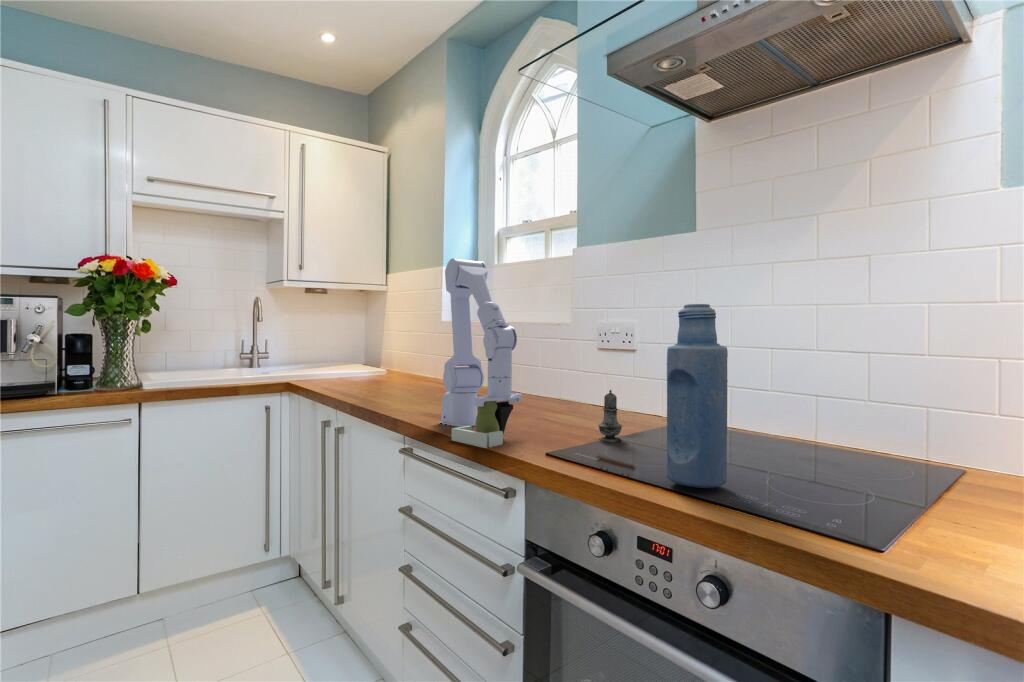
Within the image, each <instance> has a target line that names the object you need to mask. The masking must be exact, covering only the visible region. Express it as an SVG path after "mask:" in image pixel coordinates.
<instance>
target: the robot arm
mask: <svg viewBox="0 0 1024 682" xmlns="http://www.w3.org/2000/svg"><path fill="white" fill-rule="evenodd" d="M488 272H489V271H488V267H487V265H486V263H485V262H484V261H482V260H479V261H478V260H476V261H475V260H469V259H457V258H455V257H454V258H450V259H449V260H448V262H447V263H446V267H445V269H444V277H445V289H446V292H448V293H449V294H450V312H451V327H452V328H451V329H452V345H453V346H452V347H453V355H452V356H451V357H450V358H449V359H448V360H447V361H446V362H445V363H444V365H443V366H444V369H443V370H444V371H443V375H442V378H443V379H442V381H443V382H442V383H443V385H444V387H445V389H446V390H447V391H446V392H445V393H444V395H443V396H442V398H441V421H439V422H438V423H439V424H440V423H442V424H441V425H445V424H447V425H446V426H450V425H451V427H455V428H457V427H464V426H472V427H474V426H475V422H476V417H477V414H478V410H477V407H478V406H479V407H483V406H484V402H486V401H496V404H497V409H496V411H495V417H496V419H497V421H498V424H499V431H503V435H505V430H506V426H507V422H508V420H509V417H510V415H511V413H512V411H513V409H514V404H512V403H521V402H523V393H517V392H516V393H512V383H513V380H512V369H513V368H512V366H513V365H512V364H513V363H512V361H513V350H515V348H516V346H517V343H518V336H517V332H516V329H515V328H514V326H511V325H510V324H509V323H507V322H506V320H505V318H504V315H503V313H502V309H501V308H500V306H499V304H498V303H496V302H493V299H492V297H491V293H490V290H489V287H488V284H487V279H488ZM471 295H472V296H473V298H474V300H475V302H476V304H477V306H478V308H477V311H476V313H477V314H476V315H477V318H478V319H479V322H480V325H481V327H482V330H483V332H484V333H483V334H484V335H483V338H482V339H483V340H482V343H483V347H484V351H485V358H487V395H484V396H478V392H480V389H481V388H482V387H483V385H484V383H485V374H484V371H483V367H482V362H481V360H480V359H479V358H478V357H476V356H475V355H474V354H473V339H472V337H473V336H472V324H471V323H472V322H471V306H470V297H471ZM475 427H476V426H475Z"/></svg>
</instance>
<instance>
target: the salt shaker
mask: <svg viewBox="0 0 1024 682" xmlns="http://www.w3.org/2000/svg"><path fill="white" fill-rule="evenodd" d="M603 397H604V399H603V400H604V401H603V404H604V407H602V410H603V419H602V422H601V423H598V424H597V426H598V430H599V433H600V434H601V435H603V436H601V437H600V438H598V440H599V441H601V442H605V443H618V442H621V441H622V439H621V438H620V437H619V434H620V433H621V431H622V428H623V424H621V423H619V422H618V421H619V420H618V411H619V408H618V407H617V401H618V399H617V397H618V396H617V395H616V394H614V393H613V392H612V389H610V390H609V391H608V393H606V394H605V395H604V396H603ZM617 436H618V437H617Z"/></svg>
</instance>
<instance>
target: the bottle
mask: <svg viewBox="0 0 1024 682" xmlns="http://www.w3.org/2000/svg"><path fill="white" fill-rule="evenodd" d="M677 317H678V324H679V325H678V330H677V331H678V332H677V341H676V343H675V344H674V345H670V346H668V347H667V351H666V478H667V479H668V480H669V481H671V482H672V483H674V484H677V485H681V486H685V487H693V488H700V489H701V488H702V489H703V488H704V489H708V488H718V487H722V486H724V485H725V484H727V478H728V476H727V473H728V471H727V467H728V466H727V465H728V463H727V462H728V460H727V454H728V453H727V448H728V447H727V446H728V442H727V441H728V440H727V439H728V438H727V437H728V358H729V357H728V356H729V355H728V354H729V353H728V348H727V346H724V345H721V344H720V343H718V335H717V329H716V318H717V313H716V311H715V308H712V307H711V306H710V304H709V303H691V304H690V303H689V304H688V303H687V304H685V305H683V308H681V309H680V310H679V311H678V315H677Z"/></svg>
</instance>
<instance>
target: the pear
mask: <svg viewBox="0 0 1024 682" xmlns="http://www.w3.org/2000/svg"><path fill="white" fill-rule="evenodd" d="M496 409H497V404H496V401H486V402H484V406H483V407H479V406H477V417H476V422H475V431H476V432H481V433H490V432H495V431H499V424H498V421H497V419H496V417H495V411H496Z"/></svg>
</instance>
